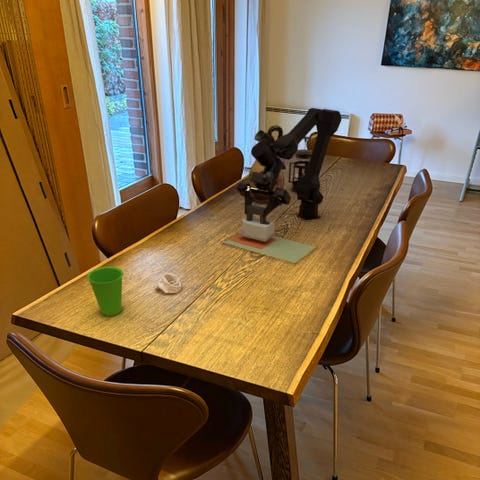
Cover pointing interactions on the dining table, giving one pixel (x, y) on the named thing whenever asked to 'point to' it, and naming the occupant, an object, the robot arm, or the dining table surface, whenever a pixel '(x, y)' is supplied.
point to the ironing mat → (273, 247)
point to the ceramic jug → (257, 167)
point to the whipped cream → (166, 285)
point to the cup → (107, 289)
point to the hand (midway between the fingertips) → (254, 215)
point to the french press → (301, 155)
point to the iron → (256, 224)
